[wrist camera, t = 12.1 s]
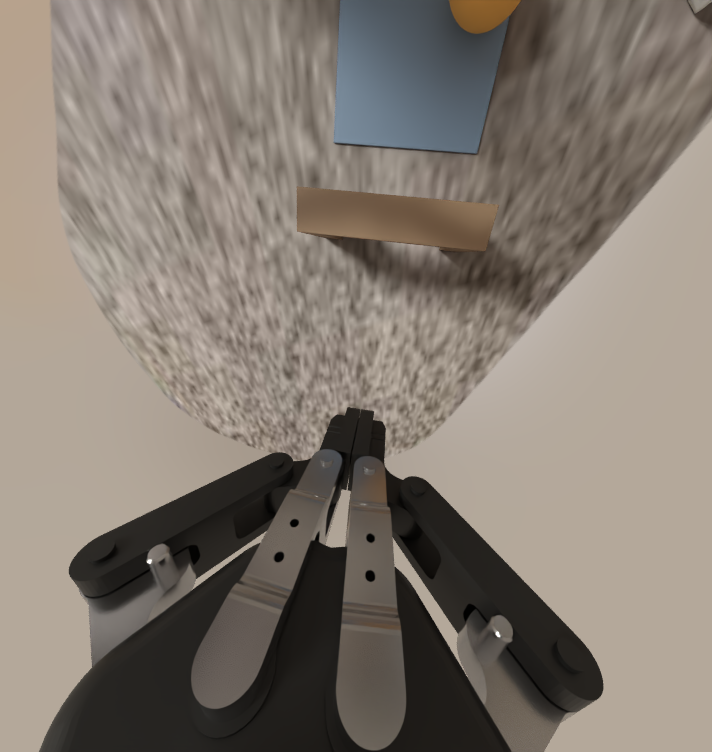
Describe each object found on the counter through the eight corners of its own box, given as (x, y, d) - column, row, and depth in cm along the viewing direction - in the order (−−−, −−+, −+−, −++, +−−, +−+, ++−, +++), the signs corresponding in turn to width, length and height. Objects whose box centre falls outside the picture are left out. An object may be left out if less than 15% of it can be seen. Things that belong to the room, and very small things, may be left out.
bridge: (457, 252, 28) (485, 251, 20) (325, 237, 29) (297, 231, 21) (465, 220, 27) (499, 204, 18) (326, 207, 28) (296, 186, 19)
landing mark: (334, 143, 26) (333, 142, 26) (345, -95, 19) (344, -98, 19) (476, 153, 25) (477, 153, 24) (535, -94, 18) (536, -98, 18)
